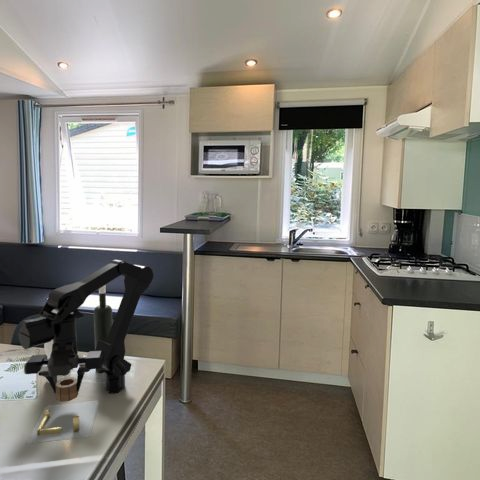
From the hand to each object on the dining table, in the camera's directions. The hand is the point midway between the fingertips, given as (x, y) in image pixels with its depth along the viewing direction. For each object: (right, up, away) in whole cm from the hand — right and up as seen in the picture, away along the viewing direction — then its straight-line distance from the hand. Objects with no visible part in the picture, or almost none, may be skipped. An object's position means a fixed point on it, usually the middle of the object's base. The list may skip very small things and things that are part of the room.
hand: (67, 391), depth 101 cm
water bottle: (-11, -4, +17) cm, 20 cm away
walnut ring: (0, -1, 0) cm, 1 cm away
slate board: (+2, -7, -4) cm, 8 cm away
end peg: (+6, -7, -8) cm, 12 cm away
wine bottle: (+1, -3, +25) cm, 26 cm away
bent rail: (-1, -6, -6) cm, 8 cm away
